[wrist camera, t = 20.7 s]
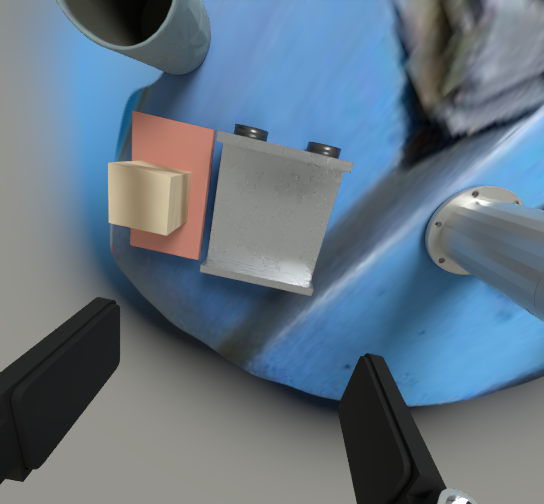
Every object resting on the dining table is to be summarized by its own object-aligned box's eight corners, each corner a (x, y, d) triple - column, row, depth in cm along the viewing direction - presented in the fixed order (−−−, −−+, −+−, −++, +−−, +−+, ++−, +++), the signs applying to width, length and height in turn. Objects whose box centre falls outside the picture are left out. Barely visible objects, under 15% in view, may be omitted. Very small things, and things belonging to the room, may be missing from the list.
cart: (341, 150, 33) (357, 150, 26) (304, 275, 40) (308, 303, 32) (234, 124, 33) (219, 117, 25) (214, 255, 39) (198, 280, 32)
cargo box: (191, 172, 30) (170, 177, 25) (187, 221, 32) (166, 235, 27) (141, 160, 30) (107, 162, 24) (139, 210, 32) (108, 222, 27)
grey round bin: (184, -49, 27) (114, -189, 16) (235, 53, 30) (207, -5, 19) (112, 13, 29) (5, -72, 18) (167, 102, 32) (104, 77, 21)
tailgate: (213, 129, 28) (132, 110, 28) (197, 260, 34) (130, 245, 34) (216, 130, 30) (139, 112, 29) (201, 256, 36) (136, 241, 35)
